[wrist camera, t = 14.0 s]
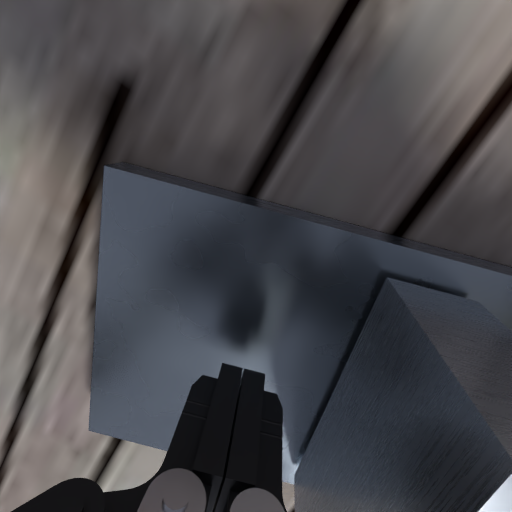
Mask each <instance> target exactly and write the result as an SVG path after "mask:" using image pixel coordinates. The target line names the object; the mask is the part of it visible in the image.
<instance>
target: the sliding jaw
mask: <svg viewBox="0 0 512 512" xmlns="http://www.w3.org/2000/svg"><path fill="white" fill-rule="evenodd" d="M294 491H295V512H512V331H511V330H510V329H509V328H507V327H506V326H505V325H504V324H503V323H502V322H501V321H500V320H498V319H497V318H496V317H495V316H494V315H493V314H492V313H491V312H489V311H488V310H487V309H486V308H485V307H484V306H483V305H482V304H480V303H479V302H478V301H474V300H471V299H467V298H463V297H459V296H456V295H452V294H448V293H445V292H441V291H437V290H434V289H430V288H426V287H422V286H419V285H415V284H411V283H408V282H404V281H400V280H396V279H393V278H389V277H386V279H385V282H384V284H383V286H382V288H381V290H380V292H379V294H378V297H377V299H376V301H375V303H374V305H373V307H372V309H371V312H370V314H369V316H368V318H367V320H366V322H365V324H364V327H363V329H362V331H361V333H360V335H359V337H358V340H357V342H356V344H355V346H354V348H353V350H352V352H351V355H350V357H349V359H348V361H347V363H346V365H345V367H344V370H343V372H342V374H341V376H340V378H339V380H338V382H337V385H336V387H335V389H334V391H333V393H332V395H331V398H330V400H329V402H328V404H327V406H326V408H325V410H324V413H323V415H322V417H321V419H320V421H319V423H318V425H317V428H316V430H315V432H314V434H313V436H312V438H311V440H310V443H309V445H308V447H307V449H306V451H305V453H304V455H303V458H302V460H301V462H300V464H299V466H298V468H297V471H296V473H295V475H294Z"/></svg>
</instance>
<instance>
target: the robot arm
mask: <svg viewBox="0 0 512 512" xmlns="http://www.w3.org/2000/svg"><path fill="white" fill-rule="evenodd" d="M242 370H243V368H241V367H237V366H233V365H229V364H225V363H222V365H221V369H220V372H219V376H218V379H217V378H213V377H209V376H205V375H202V376H201V377H200V378H199V379H198V380H197V381H196V382H195V383H194V384H193V385H192V386H191V389H190V392H189V394H188V397H187V400H186V403H185V405H184V408H183V411H182V414H181V416H180V419H179V421H178V424H177V427H176V430H175V432H174V435H173V438H172V440H171V443H170V446H169V448H168V451H167V454H166V457H165V459H164V462H163V464H162V466H161V468H160V469H159V471H158V472H157V473H156V474H155V475H154V476H153V477H152V478H151V479H150V480H149V481H147V482H146V483H144V484H142V485H140V486H138V487H135V488H132V489H127V490H120V491H112V492H103V491H102V489H101V488H100V486H99V485H98V484H97V483H95V482H94V481H92V480H89V479H86V478H73V479H69V480H66V481H63V482H61V483H59V484H57V485H55V486H53V487H52V488H50V489H48V490H47V491H45V492H43V493H42V494H40V495H38V496H37V497H35V498H33V499H32V500H30V501H28V502H26V503H25V504H23V505H21V506H20V507H18V508H16V509H15V510H13V511H11V512H287V511H286V509H285V506H284V503H283V497H282V451H283V440H282V437H283V427H282V425H283V407H282V405H281V402H280V400H279V398H278V395H277V394H275V393H272V392H268V391H264V384H265V374H264V373H261V372H257V371H253V370H249V369H245V368H244V370H243V373H242ZM241 376H242V377H241Z"/></svg>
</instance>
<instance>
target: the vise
mask: <svg viewBox="0 0 512 512" xmlns="http://www.w3.org/2000/svg"><path fill="white" fill-rule="evenodd" d="M386 277H389V278H393V279H396V280H400V281H404V282H408V283H411V284H415V285H419V286H422V287H426V288H430V289H434V290H437V291H441V292H445V293H448V294H452V295H456V296H459V297H463V298H467V299H471V300H474V301H478V302H479V303H480V304H482V305H483V306H484V307H485V308H486V309H487V310H488V311H489V312H491V313H492V314H493V315H494V316H495V317H496V318H497V319H498V320H500V321H501V322H502V323H503V324H504V325H505V326H506V327H507V328H509V329H510V330H511V331H512V267H509V266H505V265H501V264H498V263H494V262H490V261H487V260H483V259H479V258H475V257H472V256H468V255H464V254H461V253H457V252H453V251H450V250H446V249H442V248H439V247H435V246H431V245H427V244H424V243H420V242H416V241H413V240H409V239H405V238H402V237H398V236H394V235H391V234H387V233H383V232H379V231H376V230H372V229H368V228H365V227H361V226H357V225H354V224H350V223H346V222H343V221H339V220H335V219H331V218H328V217H324V216H320V215H317V214H313V213H309V212H306V211H302V210H298V209H295V208H291V207H287V206H284V205H280V204H276V203H272V202H269V201H265V200H261V199H258V198H254V197H250V196H247V195H243V194H239V193H236V192H232V191H228V190H224V189H221V188H217V187H213V186H210V185H206V184H202V183H199V182H195V181H191V180H188V179H184V178H180V177H176V176H173V175H169V174H165V173H162V172H158V171H154V170H151V169H147V168H143V167H140V166H136V165H132V164H129V163H125V162H120V163H115V164H110V165H105V166H104V176H103V193H102V211H101V228H100V245H99V262H98V279H97V296H96V313H95V330H94V347H93V364H92V382H91V399H90V416H89V431H92V432H96V433H100V434H104V435H108V436H112V437H115V438H119V439H123V440H127V441H131V442H135V443H138V444H142V445H146V446H150V447H154V448H157V449H161V450H165V451H168V448H169V446H170V443H171V440H172V438H173V435H174V432H175V430H176V427H177V424H178V421H179V419H180V416H181V414H182V411H183V408H184V405H185V403H186V400H187V397H188V394H189V392H190V389H191V386H192V385H193V384H194V383H195V382H196V381H197V380H198V379H199V378H200V377H201V376H202V375H205V376H209V377H213V378H217V379H218V376H219V372H220V369H221V365H222V363H225V364H229V365H233V366H237V367H241V368H243V370H244V368H245V369H249V370H253V371H257V372H261V373H264V374H265V384H264V391H268V392H272V393H275V394H277V395H278V398H279V400H280V402H281V405H282V407H283V425H282V427H283V437H282V440H283V451H282V481H284V482H287V483H291V484H294V475H295V473H296V471H297V468H298V466H299V464H300V462H301V460H302V458H303V455H304V453H305V451H306V449H307V447H308V445H309V443H310V440H311V438H312V436H313V434H314V432H315V430H316V428H317V425H318V423H319V421H320V419H321V417H322V415H323V413H324V410H325V408H326V406H327V404H328V402H329V400H330V398H331V395H332V393H333V391H334V389H335V387H336V385H337V382H338V380H339V378H340V376H341V374H342V372H343V370H344V367H345V365H346V363H347V361H348V359H349V357H350V355H351V352H352V350H353V348H354V346H355V344H356V342H357V340H358V337H359V335H360V333H361V331H362V329H363V327H364V324H365V322H366V320H367V318H368V316H369V314H370V312H371V309H372V307H373V305H374V303H375V301H376V299H377V297H378V294H379V292H380V290H381V288H382V286H383V284H384V282H385V279H386ZM243 370H242V373H243ZM241 377H242V376H241Z"/></svg>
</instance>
